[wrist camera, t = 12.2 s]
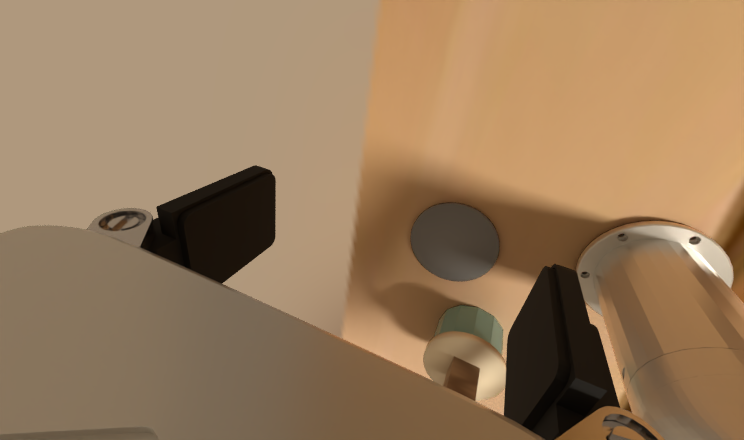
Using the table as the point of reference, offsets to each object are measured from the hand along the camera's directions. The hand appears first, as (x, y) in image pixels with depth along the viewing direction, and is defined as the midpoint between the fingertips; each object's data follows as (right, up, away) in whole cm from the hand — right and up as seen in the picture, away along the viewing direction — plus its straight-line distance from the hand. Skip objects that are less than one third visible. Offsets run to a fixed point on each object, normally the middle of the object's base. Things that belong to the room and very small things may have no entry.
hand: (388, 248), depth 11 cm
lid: (+11, -17, +30) cm, 37 cm away
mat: (+10, -2, +31) cm, 32 cm away
